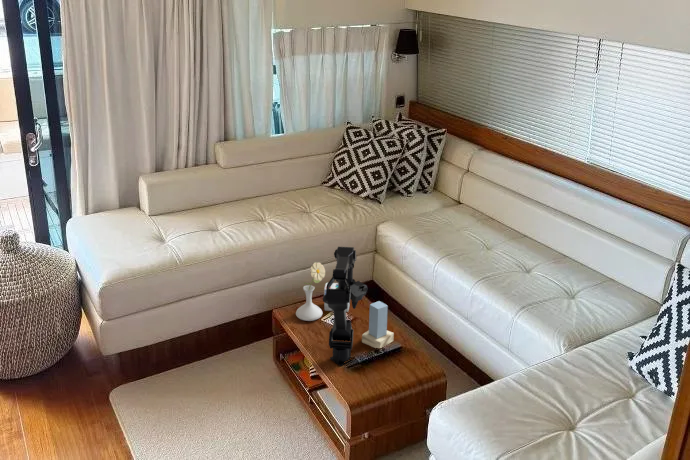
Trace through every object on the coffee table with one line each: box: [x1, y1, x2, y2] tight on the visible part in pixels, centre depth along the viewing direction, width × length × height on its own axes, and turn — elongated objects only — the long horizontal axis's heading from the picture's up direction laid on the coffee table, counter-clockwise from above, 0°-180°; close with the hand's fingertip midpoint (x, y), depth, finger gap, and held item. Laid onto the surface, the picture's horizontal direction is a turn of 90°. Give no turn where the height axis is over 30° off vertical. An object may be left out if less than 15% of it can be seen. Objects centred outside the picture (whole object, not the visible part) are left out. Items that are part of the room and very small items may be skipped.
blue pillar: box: [368, 300, 389, 339], centre depth 267 cm, size 5×5×13 cm
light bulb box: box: [323, 282, 351, 313], centre depth 294 cm, size 11×7×11 cm, turn 84°
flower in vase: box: [295, 262, 326, 322], centre depth 285 cm, size 13×11×25 cm
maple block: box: [361, 329, 395, 349], centre depth 271 cm, size 9×9×4 cm
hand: (345, 312), depth 267 cm, fingers open, 9 cm apart
